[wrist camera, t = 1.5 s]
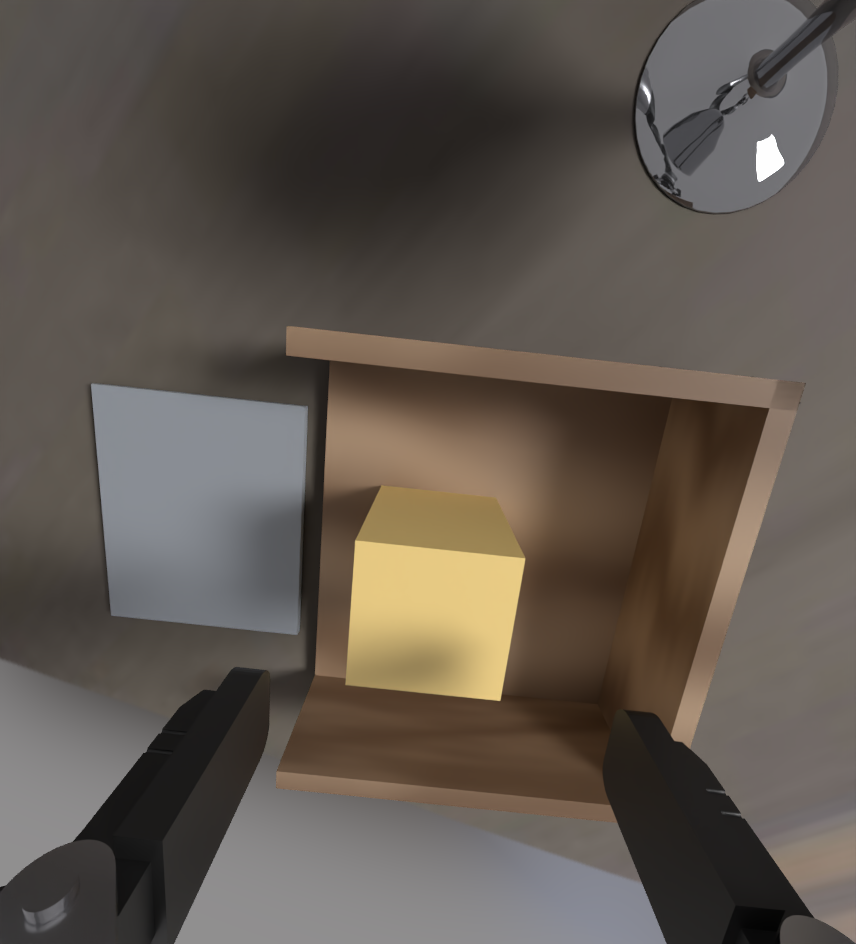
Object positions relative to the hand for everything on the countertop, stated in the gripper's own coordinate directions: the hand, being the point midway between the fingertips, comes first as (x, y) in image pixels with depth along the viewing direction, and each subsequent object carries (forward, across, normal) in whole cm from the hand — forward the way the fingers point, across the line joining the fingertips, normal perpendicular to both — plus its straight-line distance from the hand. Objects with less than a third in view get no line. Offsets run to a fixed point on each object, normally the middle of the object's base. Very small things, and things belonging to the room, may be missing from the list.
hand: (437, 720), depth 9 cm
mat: (+10, +11, 0) cm, 15 cm away
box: (+10, -2, 0) cm, 10 cm away
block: (+9, 0, 0) cm, 9 cm away
